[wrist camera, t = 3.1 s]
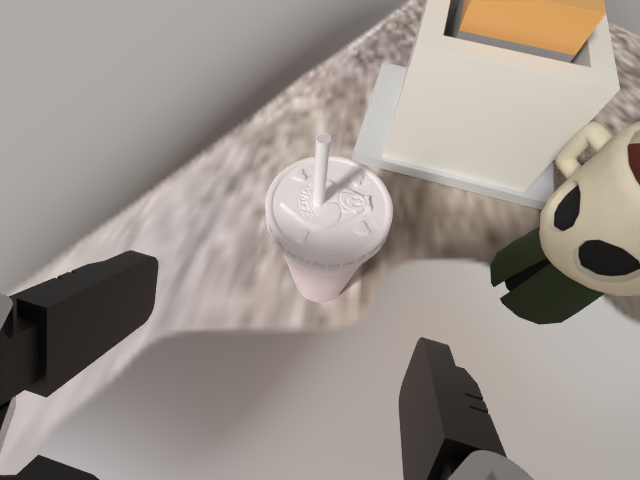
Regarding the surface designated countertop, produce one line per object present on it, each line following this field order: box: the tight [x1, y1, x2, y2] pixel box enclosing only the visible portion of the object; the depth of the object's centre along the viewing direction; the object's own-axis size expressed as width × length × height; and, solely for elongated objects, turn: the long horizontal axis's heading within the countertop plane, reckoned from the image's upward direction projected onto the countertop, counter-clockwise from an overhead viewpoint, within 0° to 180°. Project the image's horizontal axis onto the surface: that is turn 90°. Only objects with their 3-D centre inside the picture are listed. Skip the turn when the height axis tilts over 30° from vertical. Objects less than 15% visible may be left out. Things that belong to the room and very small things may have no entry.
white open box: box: [352, 0, 620, 210], centre depth 29 cm, size 17×13×11 cm
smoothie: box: [265, 133, 393, 302], centre depth 20 cm, size 6×6×14 cm
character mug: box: [490, 121, 640, 324], centre depth 21 cm, size 11×7×13 cm, turn 16°
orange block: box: [446, 0, 606, 63], centre depth 25 cm, size 7×7×8 cm
